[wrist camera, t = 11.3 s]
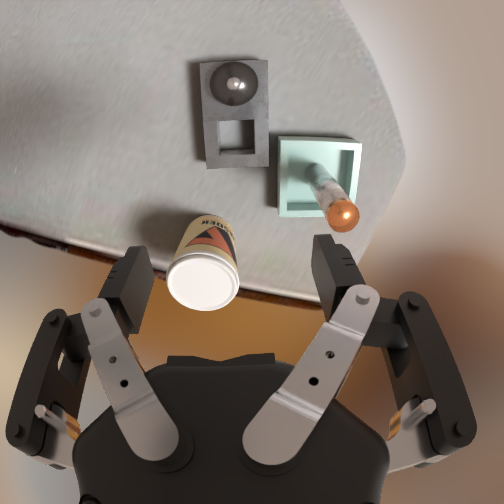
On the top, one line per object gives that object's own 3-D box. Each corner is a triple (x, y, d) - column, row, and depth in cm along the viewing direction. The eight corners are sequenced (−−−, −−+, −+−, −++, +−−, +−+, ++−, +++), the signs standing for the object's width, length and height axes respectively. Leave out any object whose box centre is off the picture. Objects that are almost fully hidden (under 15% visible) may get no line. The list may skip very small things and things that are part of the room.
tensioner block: (202, 64, 29) (197, 62, 26) (265, 61, 30) (268, 58, 26) (209, 162, 37) (205, 173, 33) (267, 160, 38) (270, 170, 34)
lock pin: (305, 163, 37) (330, 202, 26) (328, 163, 37) (361, 203, 26) (304, 185, 39) (326, 232, 28) (326, 185, 39) (356, 232, 28)
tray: (277, 136, 36) (280, 140, 33) (354, 139, 36) (361, 143, 33) (277, 208, 42) (279, 217, 39) (346, 207, 42) (352, 216, 39)
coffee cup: (251, 228, 44) (253, 278, 34) (220, 268, 48) (215, 321, 38) (198, 198, 41) (184, 242, 31) (171, 243, 45) (154, 294, 35)
